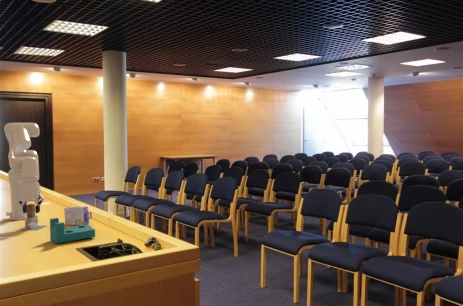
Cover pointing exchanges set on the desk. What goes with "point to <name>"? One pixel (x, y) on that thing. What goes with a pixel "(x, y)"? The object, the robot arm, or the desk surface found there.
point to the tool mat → (31, 229)
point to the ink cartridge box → (77, 215)
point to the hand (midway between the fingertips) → (31, 212)
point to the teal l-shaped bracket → (69, 232)
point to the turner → (31, 218)
